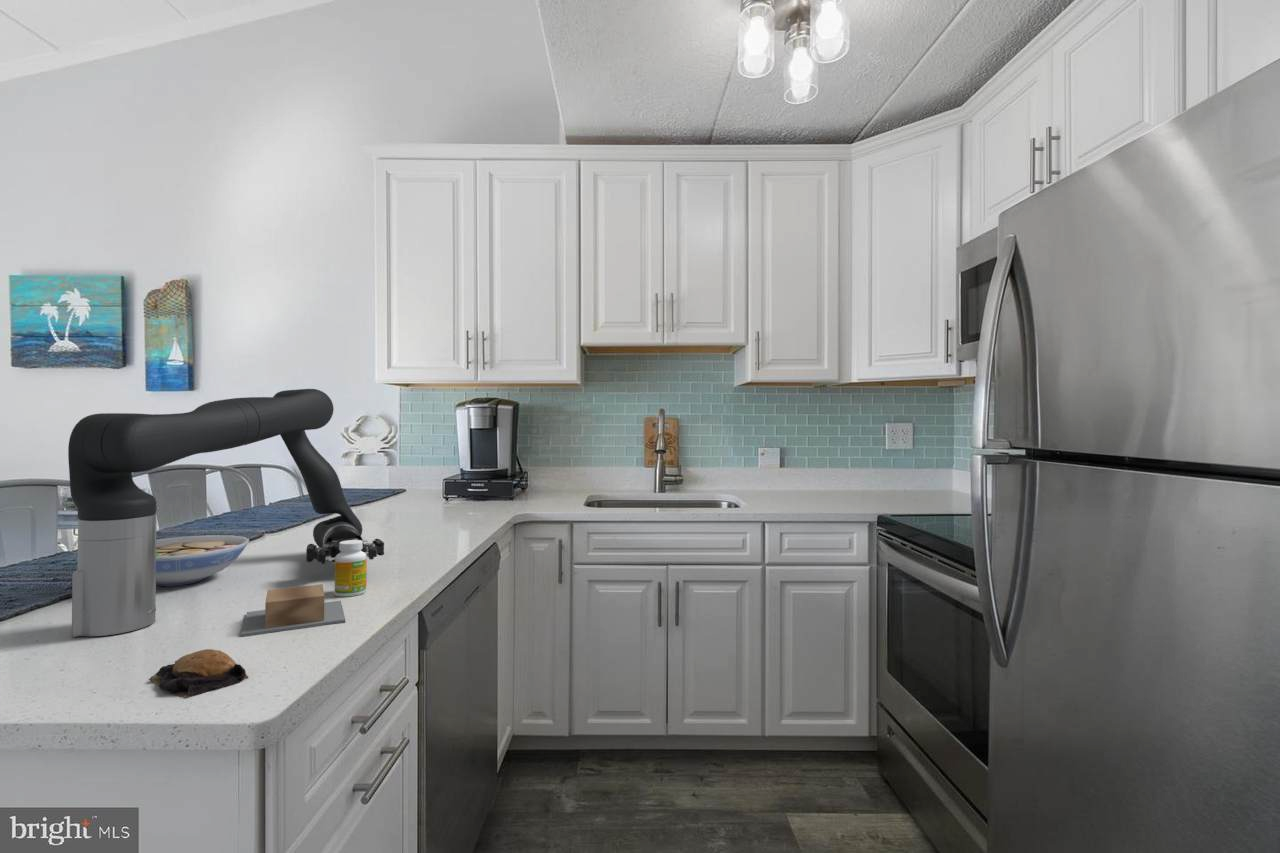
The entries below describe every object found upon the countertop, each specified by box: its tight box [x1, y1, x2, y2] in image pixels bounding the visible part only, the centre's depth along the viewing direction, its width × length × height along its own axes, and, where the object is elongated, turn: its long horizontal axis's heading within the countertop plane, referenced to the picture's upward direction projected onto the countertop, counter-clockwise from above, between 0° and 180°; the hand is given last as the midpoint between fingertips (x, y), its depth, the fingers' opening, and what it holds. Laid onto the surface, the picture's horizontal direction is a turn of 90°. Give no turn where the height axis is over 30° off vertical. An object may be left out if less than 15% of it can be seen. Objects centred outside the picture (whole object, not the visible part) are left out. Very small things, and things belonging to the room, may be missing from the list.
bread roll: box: [149, 648, 249, 699], centre depth 75 cm, size 11×8×4 cm
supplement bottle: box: [334, 540, 368, 598], centre depth 113 cm, size 5×5×10 cm
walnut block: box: [264, 583, 325, 629], centre depth 97 cm, size 8×8×4 cm
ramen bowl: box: [156, 534, 250, 587], centre depth 120 cm, size 25×23×8 cm
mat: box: [240, 600, 346, 637], centre depth 98 cm, size 14×12×1 cm
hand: (348, 556), depth 117 cm, fingers open, 8 cm apart
